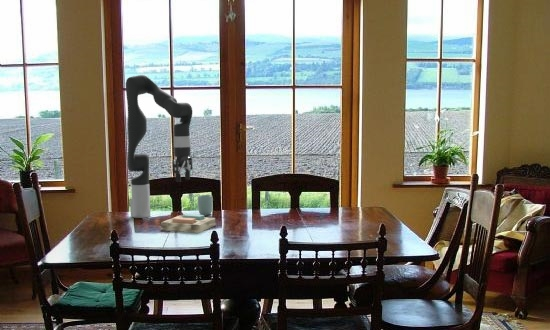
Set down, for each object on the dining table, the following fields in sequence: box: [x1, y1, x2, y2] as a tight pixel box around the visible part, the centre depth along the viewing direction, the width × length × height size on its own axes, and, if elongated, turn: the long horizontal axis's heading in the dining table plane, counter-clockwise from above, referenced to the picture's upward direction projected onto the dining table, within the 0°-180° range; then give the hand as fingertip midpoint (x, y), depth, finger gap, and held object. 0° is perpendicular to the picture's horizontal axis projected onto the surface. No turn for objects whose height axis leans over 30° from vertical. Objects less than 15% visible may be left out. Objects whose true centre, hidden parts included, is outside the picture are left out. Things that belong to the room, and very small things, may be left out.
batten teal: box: [181, 213, 205, 220], centre depth 265 cm, size 10×4×4 cm, turn 66°
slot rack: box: [160, 214, 217, 234], centre depth 261 cm, size 20×17×4 cm
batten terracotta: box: [173, 216, 196, 224], centre depth 257 cm, size 10×4×4 cm, turn 72°
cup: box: [197, 194, 214, 216], centre depth 291 cm, size 8×8×10 cm
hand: (183, 180), depth 255 cm, fingers open, 8 cm apart
